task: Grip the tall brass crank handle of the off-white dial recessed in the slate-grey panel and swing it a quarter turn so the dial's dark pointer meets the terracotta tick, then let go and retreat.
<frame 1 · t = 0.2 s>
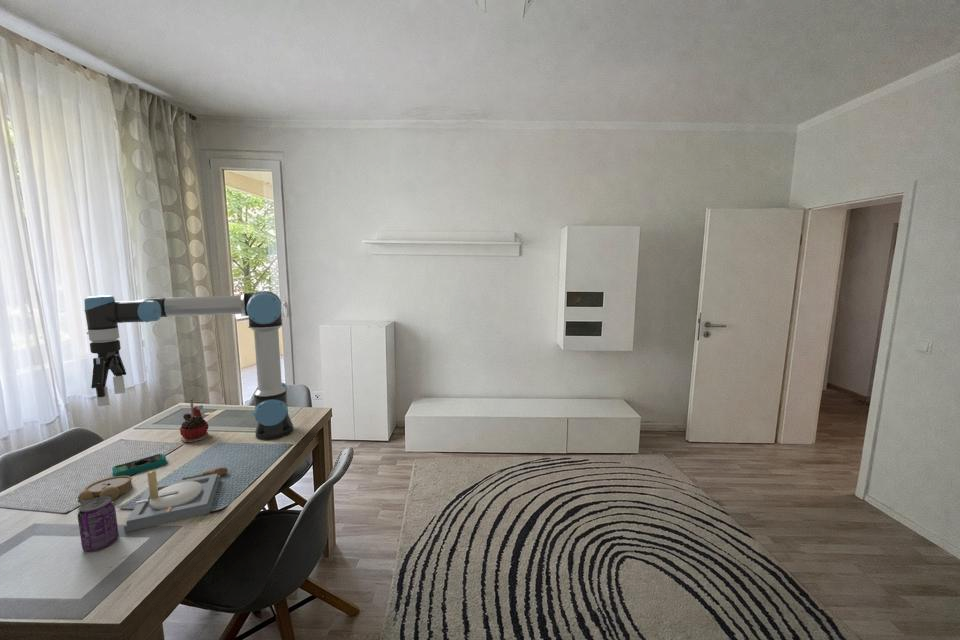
hand: (112, 399, 135), 28 cm above the table, fingers open, 13 cm apart
alarm clock: (106, 497, 125), on the table
digital multimeter: (140, 469, 142), on the table
screwdriver: (205, 478, 136), on the table
beverage can: (101, 544, 104), on the table
panel: (177, 503, 122), on the table
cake: (195, 439, 167), on the table
dial: (175, 482, 121), point 7 cm above the table, hinge at 0.0°
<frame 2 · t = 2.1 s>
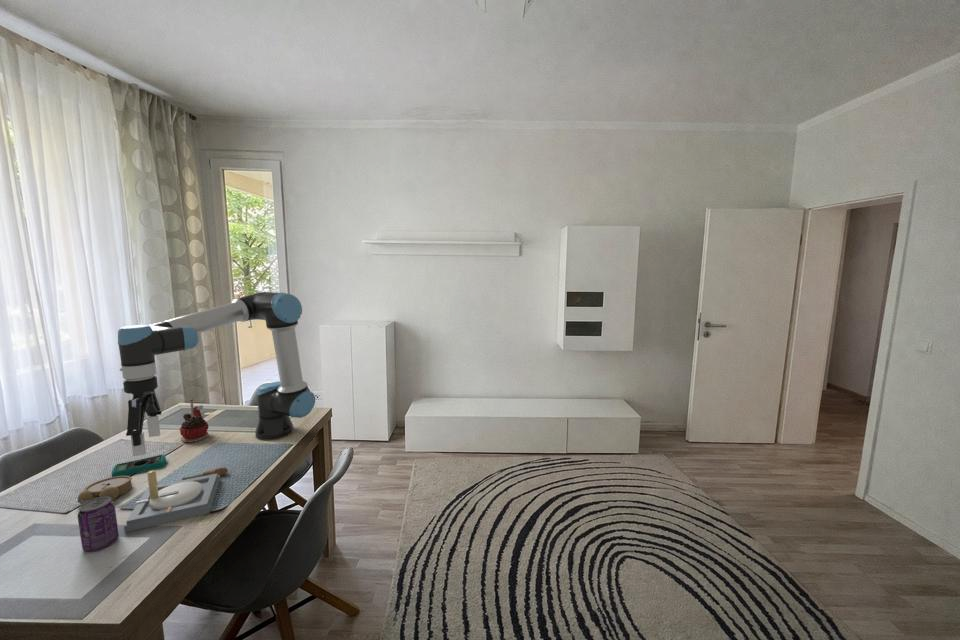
hand: (147, 445, 116), 21 cm above the table, fingers open, 13 cm apart
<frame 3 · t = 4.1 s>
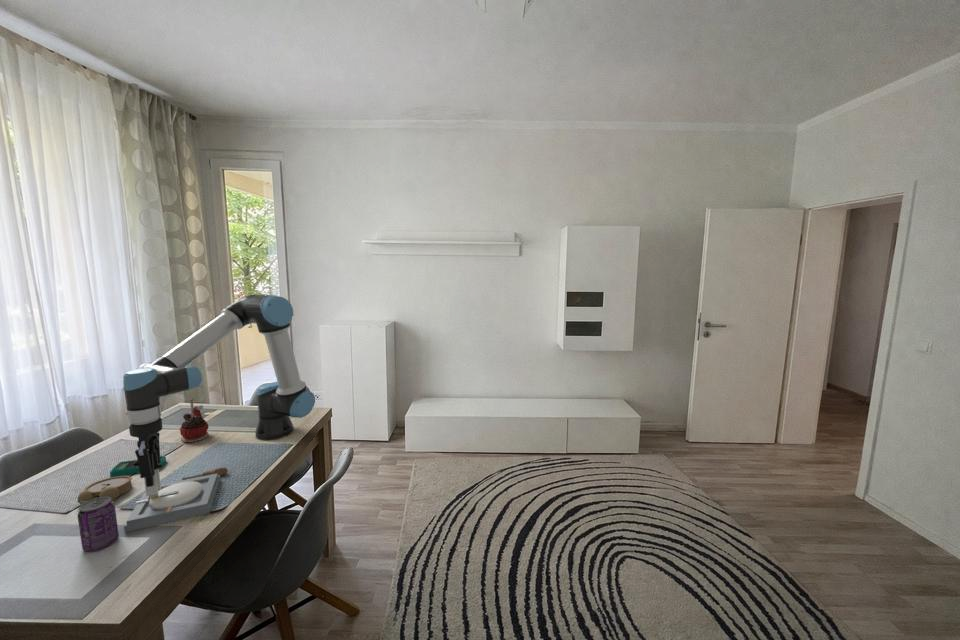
hand: (153, 491, 119), 5 cm above the table, fingers closed on dial, 2 cm apart
dial: (175, 482, 121), point 7 cm above the table, hinge at 0.0°, touching gripper
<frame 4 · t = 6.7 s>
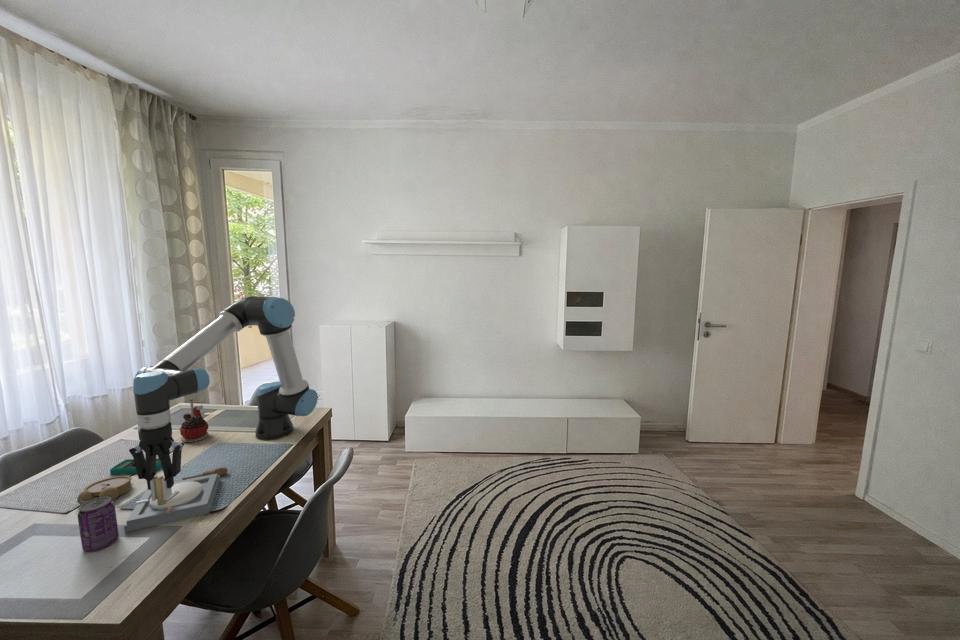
hand: (162, 497, 116), 5 cm above the table, fingers open, 2 cm apart
dial: (175, 482, 121), point 7 cm above the table, hinge at 63.3°, touching gripper
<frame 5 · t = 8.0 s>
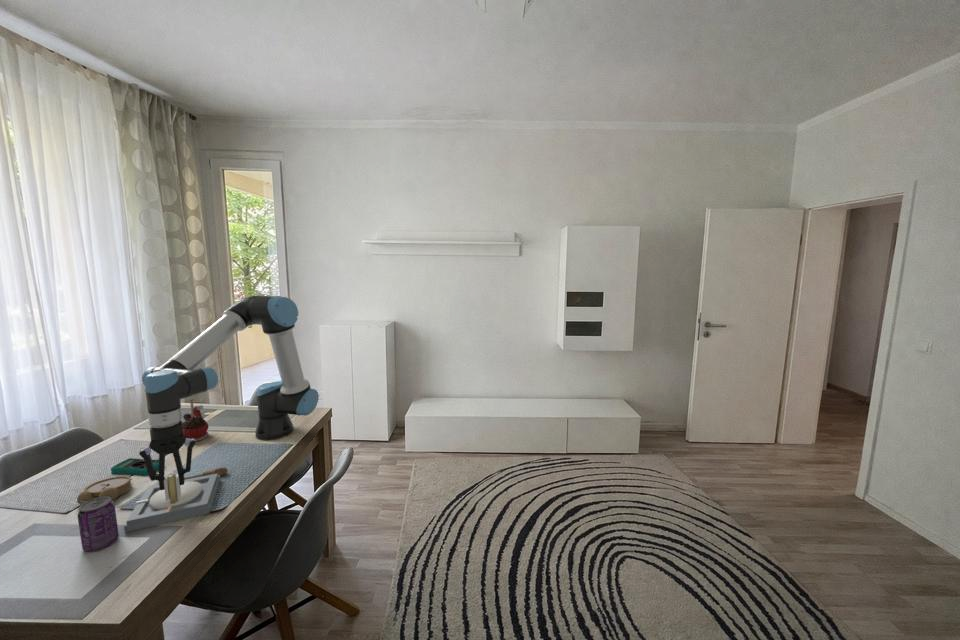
hand: (173, 496, 116), 5 cm above the table, fingers closed on dial, 2 cm apart
dial: (175, 482, 121), point 7 cm above the table, hinge at 96.3°, touching gripper
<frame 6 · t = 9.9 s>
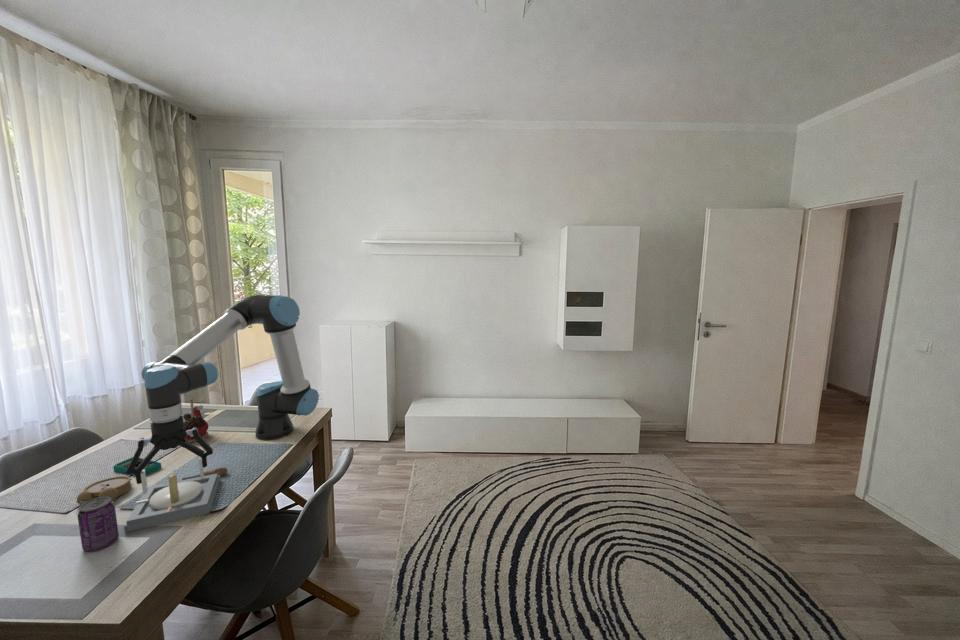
hand: (174, 484, 116), 9 cm above the table, fingers open, 13 cm apart
dial: (175, 482, 121), point 7 cm above the table, hinge at 98.6°
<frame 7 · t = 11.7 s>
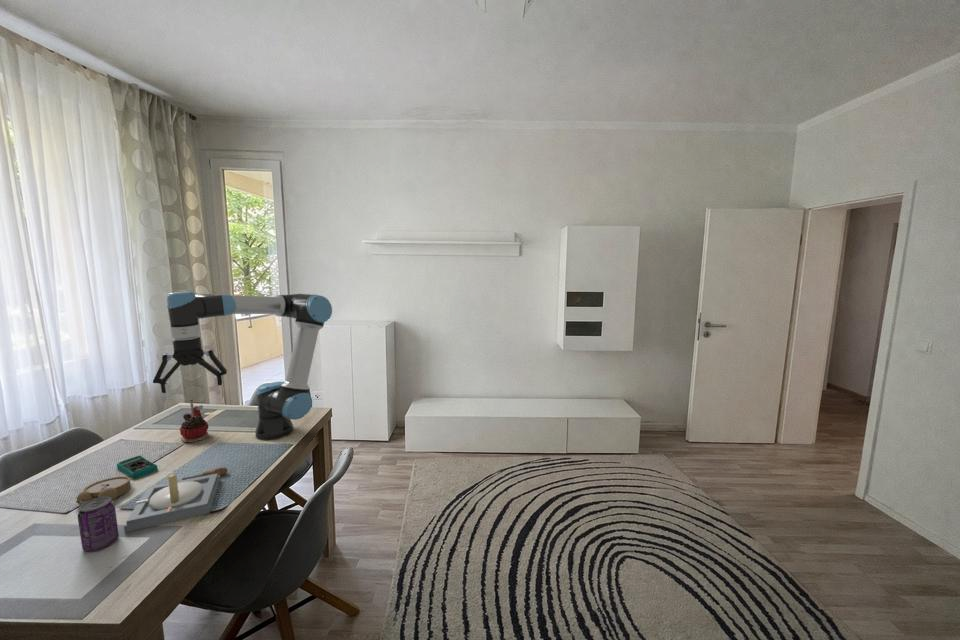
hand: (194, 397, 132), 30 cm above the table, fingers open, 13 cm apart
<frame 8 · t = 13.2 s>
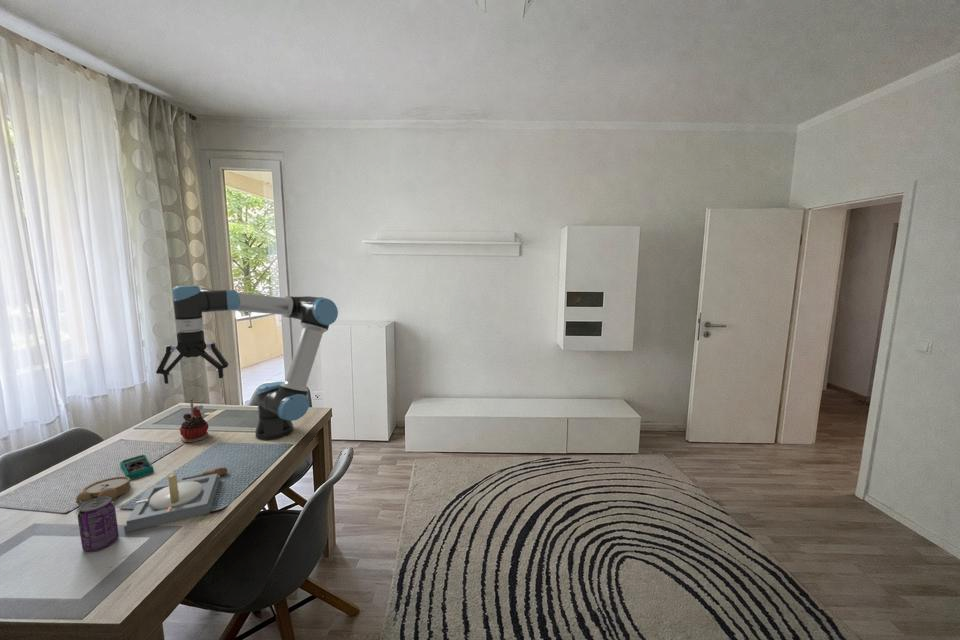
hand: (195, 389, 135), 32 cm above the table, fingers open, 13 cm apart
at the end: dial at +99° (first picture: +0°) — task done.
